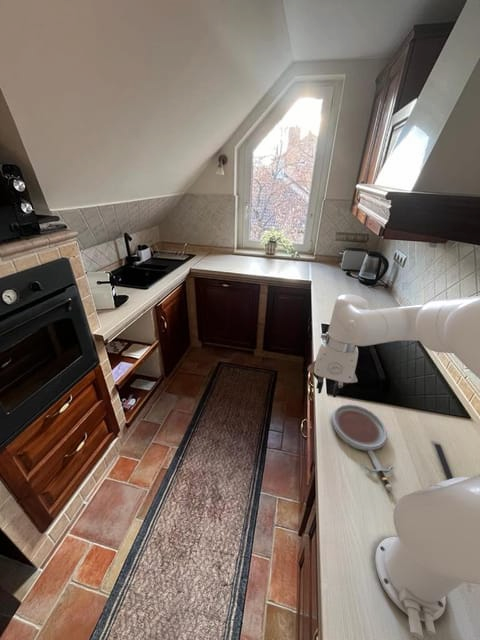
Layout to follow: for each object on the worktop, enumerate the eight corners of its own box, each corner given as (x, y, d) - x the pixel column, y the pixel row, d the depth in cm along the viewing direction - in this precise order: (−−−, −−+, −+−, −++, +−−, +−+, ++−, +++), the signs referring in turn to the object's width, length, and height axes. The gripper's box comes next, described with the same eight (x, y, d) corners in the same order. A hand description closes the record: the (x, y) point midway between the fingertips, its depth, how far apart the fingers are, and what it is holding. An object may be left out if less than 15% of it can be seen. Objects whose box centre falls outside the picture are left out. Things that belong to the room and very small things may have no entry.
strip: (454, 482, 70) (454, 482, 70) (447, 480, 71) (448, 480, 71) (439, 445, 80) (440, 445, 80) (434, 443, 81) (434, 443, 80)
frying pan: (360, 488, 66) (325, 402, 90) (357, 494, 67) (323, 408, 91) (423, 487, 67) (372, 402, 91) (419, 492, 68) (369, 408, 92)
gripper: (307, 342, 65) (297, 393, 74) (377, 356, 61) (357, 409, 70) (310, 327, 71) (300, 377, 80) (374, 340, 67) (355, 390, 76)
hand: (326, 391), depth 75 cm, fingers open, 3 cm apart
